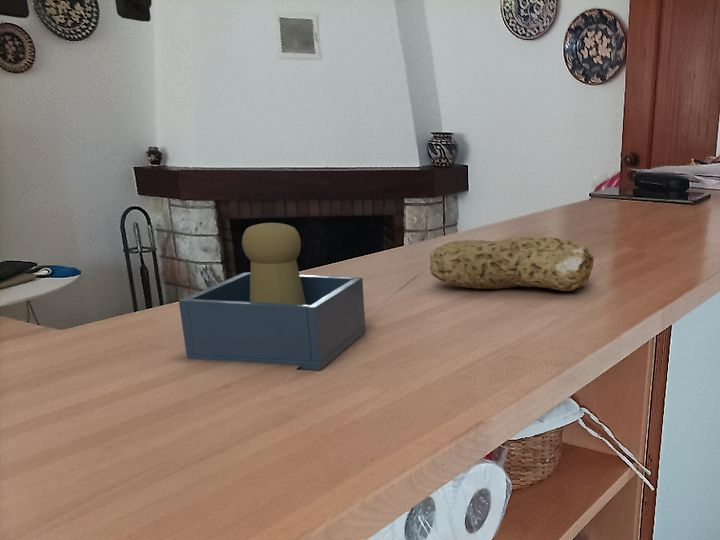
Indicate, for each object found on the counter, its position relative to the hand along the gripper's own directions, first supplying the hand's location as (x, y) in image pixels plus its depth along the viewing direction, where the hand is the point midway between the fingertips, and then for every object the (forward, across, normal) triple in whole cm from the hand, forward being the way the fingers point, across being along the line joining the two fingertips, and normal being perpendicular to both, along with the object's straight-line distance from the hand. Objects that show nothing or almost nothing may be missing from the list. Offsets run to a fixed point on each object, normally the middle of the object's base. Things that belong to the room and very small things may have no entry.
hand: (72, 17), depth 57 cm
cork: (+27, -9, -10) cm, 31 cm away
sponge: (+28, -28, -40) cm, 56 cm away
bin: (+28, -9, -10) cm, 31 cm away
